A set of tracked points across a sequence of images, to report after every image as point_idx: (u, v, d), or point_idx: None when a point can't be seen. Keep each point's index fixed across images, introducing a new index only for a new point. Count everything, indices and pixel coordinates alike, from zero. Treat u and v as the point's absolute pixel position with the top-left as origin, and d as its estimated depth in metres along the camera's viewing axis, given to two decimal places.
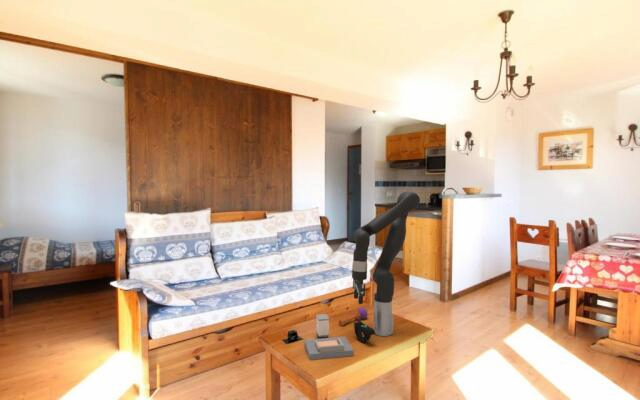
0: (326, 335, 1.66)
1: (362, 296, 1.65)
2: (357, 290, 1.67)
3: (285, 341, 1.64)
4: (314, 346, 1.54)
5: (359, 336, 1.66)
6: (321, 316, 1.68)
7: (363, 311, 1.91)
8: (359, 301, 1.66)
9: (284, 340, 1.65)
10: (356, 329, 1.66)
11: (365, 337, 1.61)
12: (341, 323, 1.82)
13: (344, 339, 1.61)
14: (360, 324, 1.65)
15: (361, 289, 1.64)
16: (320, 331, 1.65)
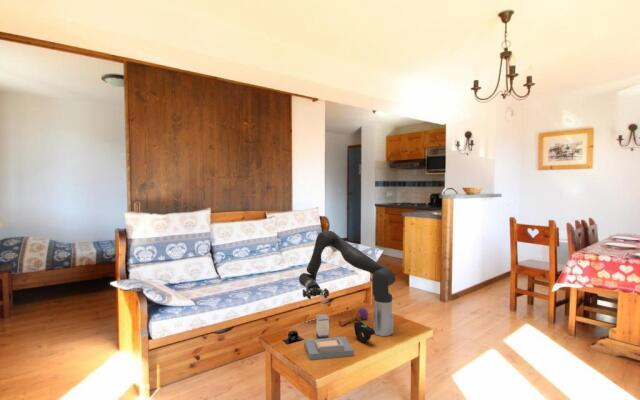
0: (326, 335, 1.66)
1: (306, 294, 1.81)
2: None
3: (286, 341, 1.64)
4: (314, 346, 1.54)
5: (359, 336, 1.66)
6: (321, 316, 1.68)
7: (363, 311, 1.91)
8: None
9: (285, 340, 1.65)
10: (356, 329, 1.66)
11: (365, 337, 1.61)
12: (341, 323, 1.82)
13: (344, 339, 1.61)
14: (360, 324, 1.65)
15: None
16: (320, 331, 1.65)
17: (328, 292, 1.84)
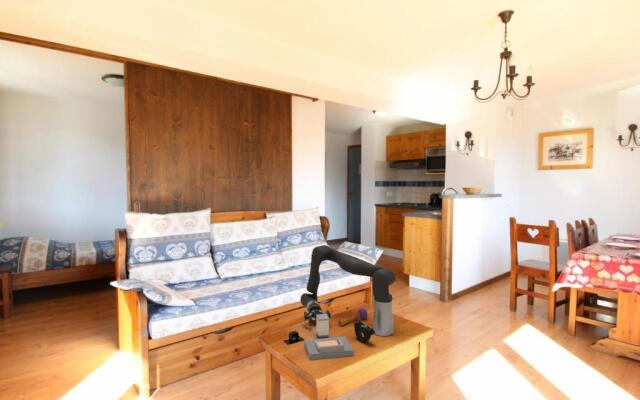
0: (326, 335, 1.66)
1: (307, 317, 1.78)
2: None
3: (286, 342, 1.63)
4: (314, 346, 1.54)
5: (359, 336, 1.66)
6: (321, 316, 1.68)
7: (363, 311, 1.91)
8: None
9: (285, 341, 1.64)
10: (356, 329, 1.66)
11: (365, 337, 1.61)
12: (340, 323, 1.82)
13: (344, 339, 1.61)
14: (360, 324, 1.65)
15: (304, 316, 1.82)
16: (320, 331, 1.65)
17: (330, 314, 1.81)
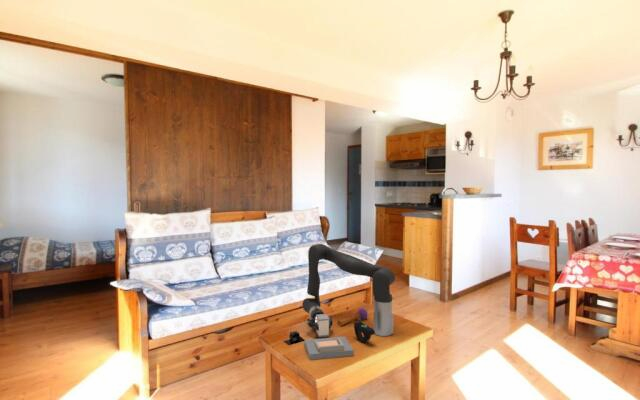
0: (326, 335, 1.66)
1: (313, 324, 1.69)
2: None
3: (287, 342, 1.63)
4: (314, 346, 1.54)
5: (359, 336, 1.66)
6: (321, 316, 1.68)
7: (363, 311, 1.91)
8: None
9: (286, 341, 1.64)
10: (356, 329, 1.66)
11: (365, 337, 1.61)
12: (340, 323, 1.82)
13: (344, 339, 1.61)
14: (360, 324, 1.65)
15: (308, 324, 1.72)
16: (320, 331, 1.65)
17: (331, 322, 1.71)
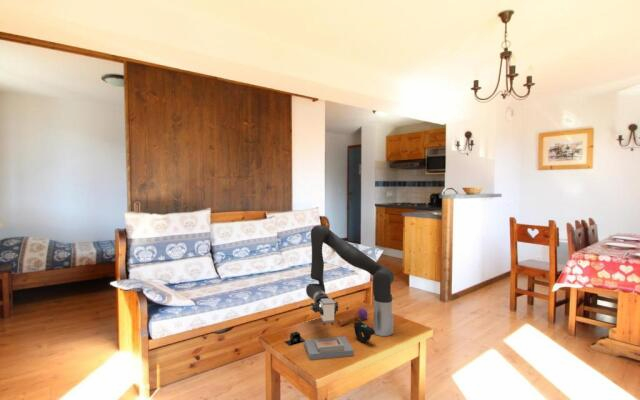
0: (331, 320, 1.54)
1: (318, 309, 1.57)
2: None
3: (288, 343, 1.62)
4: (314, 346, 1.54)
5: (359, 336, 1.66)
6: (326, 300, 1.57)
7: (363, 312, 1.91)
8: None
9: (287, 342, 1.63)
10: (356, 329, 1.66)
11: (365, 337, 1.61)
12: (340, 323, 1.82)
13: (344, 339, 1.61)
14: (360, 324, 1.65)
15: (312, 309, 1.60)
16: (325, 316, 1.54)
17: (337, 307, 1.60)
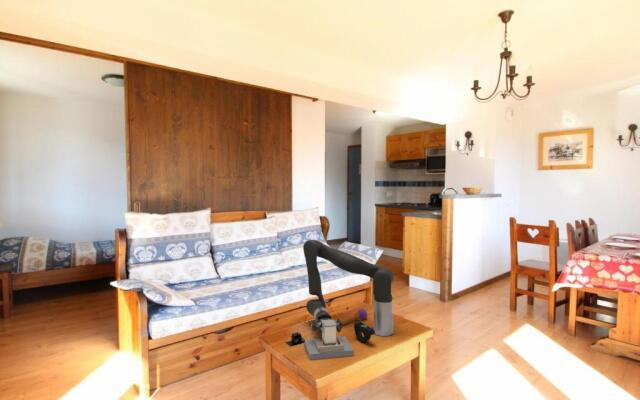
0: (333, 343, 1.52)
1: (316, 327, 1.55)
2: None
3: (289, 344, 1.61)
4: (314, 346, 1.54)
5: (359, 336, 1.66)
6: (327, 322, 1.54)
7: (363, 312, 1.91)
8: None
9: (288, 342, 1.62)
10: (356, 329, 1.66)
11: (365, 337, 1.61)
12: None
13: (344, 339, 1.61)
14: (360, 324, 1.65)
15: (311, 326, 1.59)
16: (326, 338, 1.51)
17: (341, 324, 1.58)
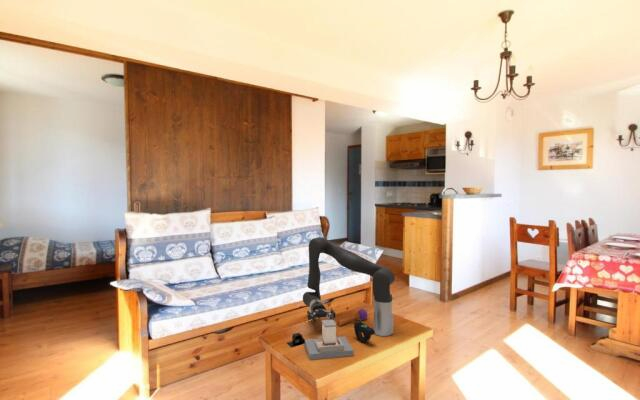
0: (333, 343, 1.52)
1: (311, 317, 1.68)
2: None
3: (290, 344, 1.61)
4: (314, 346, 1.54)
5: (359, 336, 1.66)
6: (327, 322, 1.54)
7: (363, 312, 1.90)
8: None
9: (289, 343, 1.62)
10: (356, 329, 1.66)
11: (365, 337, 1.61)
12: (339, 323, 1.82)
13: (344, 339, 1.61)
14: (360, 324, 1.65)
15: (307, 316, 1.71)
16: (326, 338, 1.51)
17: (334, 314, 1.71)
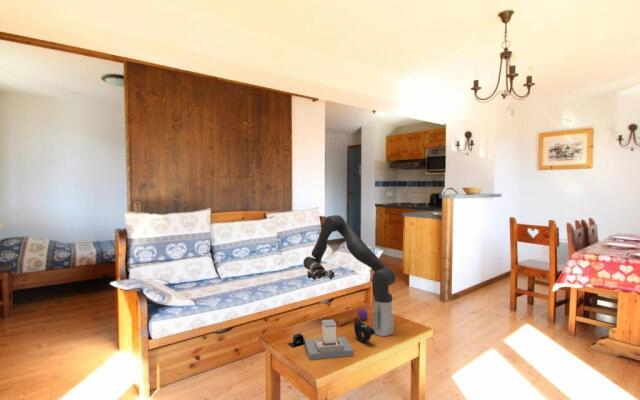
0: (333, 343, 1.52)
1: (311, 275, 1.78)
2: None
3: (291, 345, 1.60)
4: (314, 346, 1.54)
5: (359, 336, 1.66)
6: (327, 322, 1.54)
7: (363, 312, 1.90)
8: (314, 278, 1.76)
9: (290, 344, 1.61)
10: (356, 329, 1.66)
11: (365, 337, 1.61)
12: (339, 323, 1.82)
13: (344, 339, 1.61)
14: (360, 324, 1.65)
15: (307, 275, 1.82)
16: (326, 338, 1.51)
17: (333, 273, 1.81)
